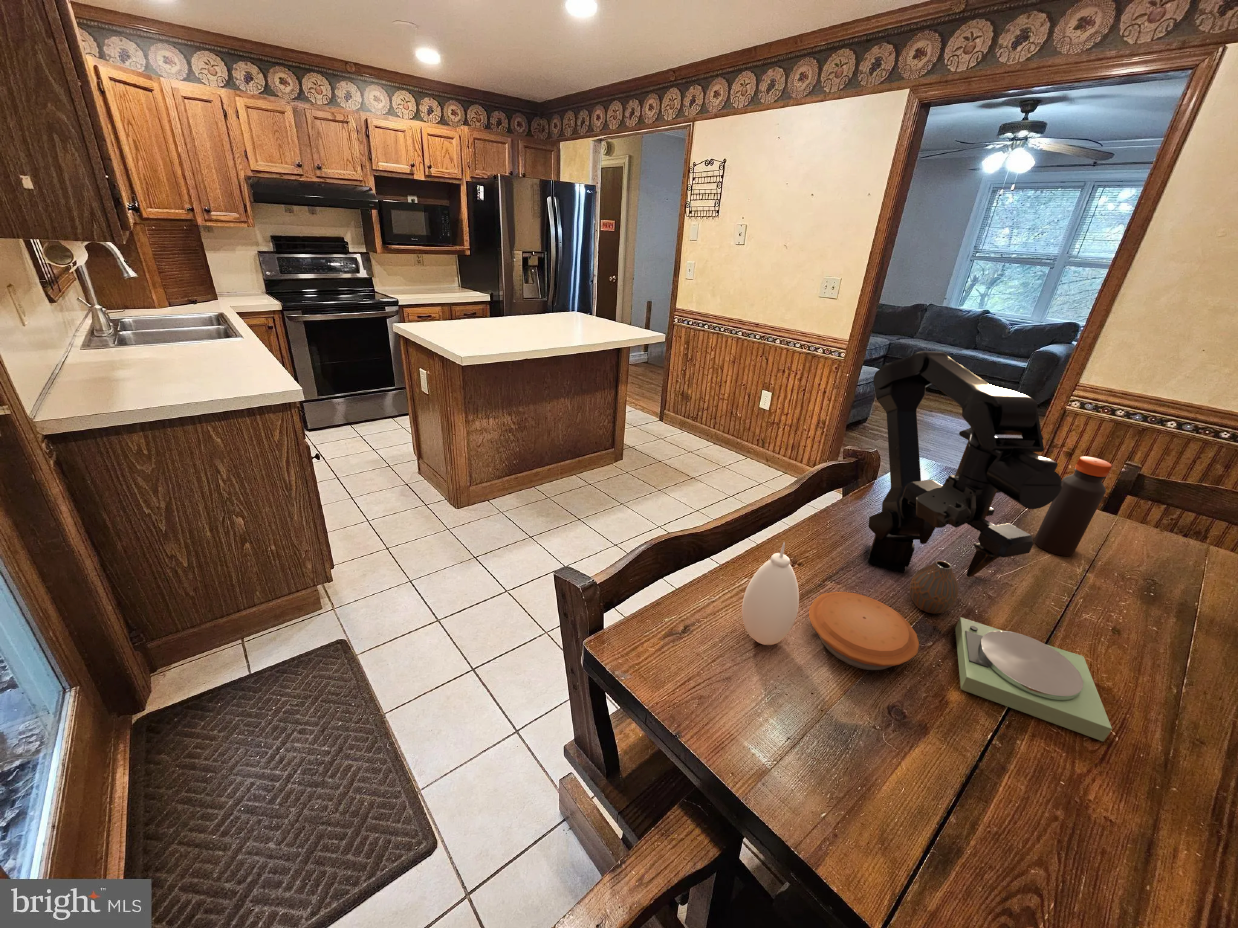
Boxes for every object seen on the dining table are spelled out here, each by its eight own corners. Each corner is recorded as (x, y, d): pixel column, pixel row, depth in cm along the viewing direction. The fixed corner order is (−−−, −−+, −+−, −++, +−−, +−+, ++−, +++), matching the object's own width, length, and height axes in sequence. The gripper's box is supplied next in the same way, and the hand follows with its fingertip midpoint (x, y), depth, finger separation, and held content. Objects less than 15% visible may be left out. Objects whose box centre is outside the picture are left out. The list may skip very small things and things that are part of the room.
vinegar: (1070, 545, 109) (1114, 460, 100) (1075, 560, 104) (1122, 472, 95) (1032, 534, 112) (1071, 451, 103) (1034, 549, 107) (1076, 462, 98)
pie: (903, 623, 84) (912, 599, 82) (920, 696, 71) (931, 670, 69) (805, 598, 89) (811, 575, 86) (803, 663, 75) (811, 638, 73)
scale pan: (983, 676, 71) (985, 672, 71) (975, 623, 81) (977, 620, 81) (1091, 714, 66) (1094, 710, 66) (1069, 653, 76) (1071, 649, 76)
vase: (956, 623, 85) (974, 580, 81) (911, 615, 86) (928, 573, 82) (941, 596, 91) (958, 555, 87) (900, 589, 92) (914, 549, 88)
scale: (960, 689, 72) (967, 675, 71) (954, 628, 84) (960, 615, 83) (1103, 741, 66) (1113, 727, 65) (1076, 668, 77) (1084, 654, 76)
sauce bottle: (754, 614, 84) (774, 521, 77) (797, 640, 80) (823, 543, 72) (727, 637, 79) (745, 540, 72) (771, 666, 74) (796, 565, 67)
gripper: (890, 453, 83) (865, 534, 90) (995, 511, 67) (955, 604, 74) (943, 448, 87) (915, 526, 93) (1056, 503, 71) (1012, 592, 77)
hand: (945, 558), depth 85 cm, fingers open, 9 cm apart
